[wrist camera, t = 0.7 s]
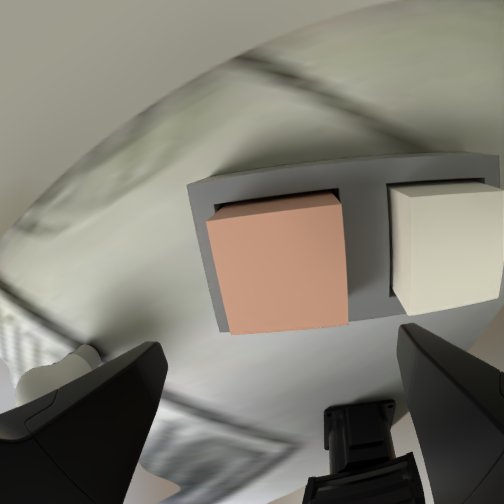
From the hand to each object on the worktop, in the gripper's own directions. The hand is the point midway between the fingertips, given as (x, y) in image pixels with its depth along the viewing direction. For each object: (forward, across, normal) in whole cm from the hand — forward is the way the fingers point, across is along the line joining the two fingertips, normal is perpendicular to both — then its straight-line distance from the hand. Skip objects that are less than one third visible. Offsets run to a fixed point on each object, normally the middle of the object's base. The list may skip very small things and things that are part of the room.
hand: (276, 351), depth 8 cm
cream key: (+10, -8, 0) cm, 13 cm away
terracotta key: (+10, 0, 0) cm, 10 cm away
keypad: (+12, -4, 0) cm, 13 cm away
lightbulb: (+12, +19, +9) cm, 25 cm away
